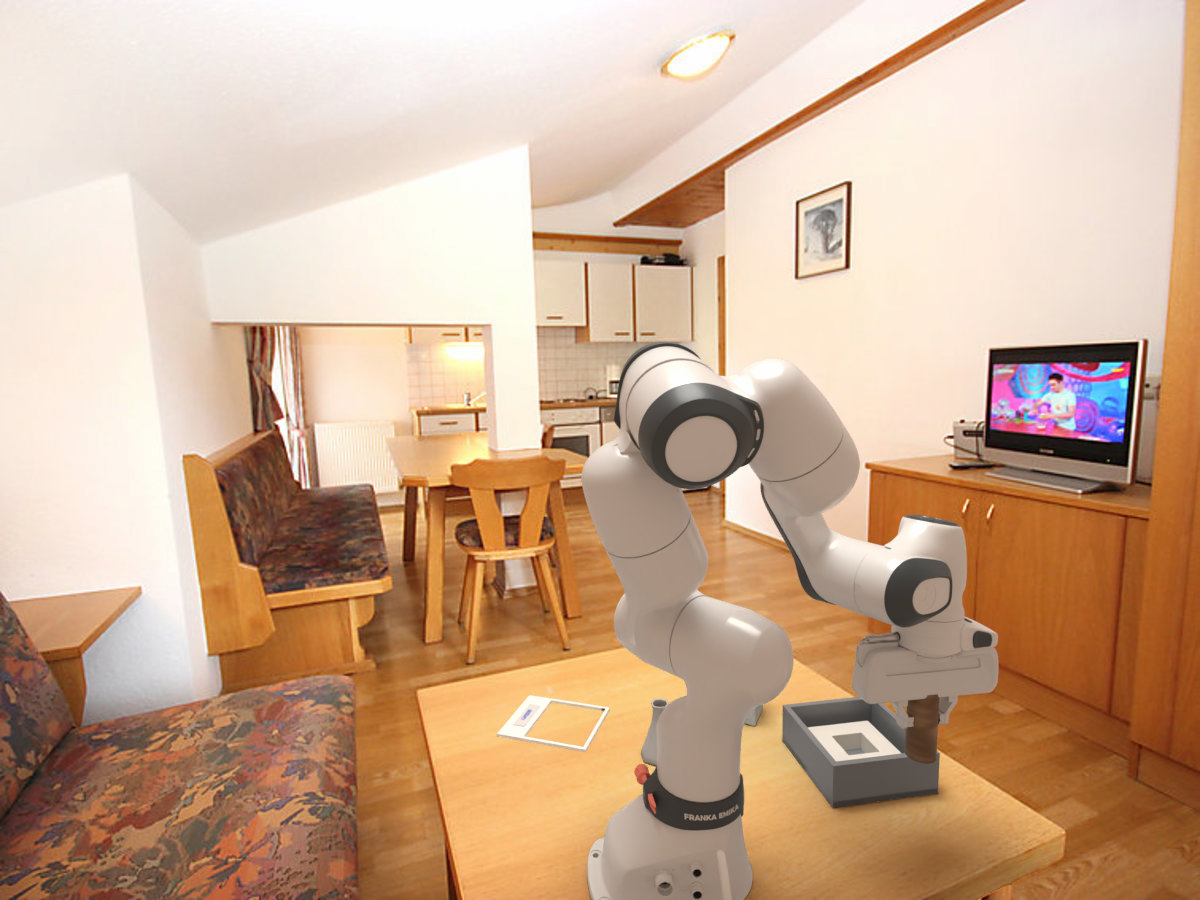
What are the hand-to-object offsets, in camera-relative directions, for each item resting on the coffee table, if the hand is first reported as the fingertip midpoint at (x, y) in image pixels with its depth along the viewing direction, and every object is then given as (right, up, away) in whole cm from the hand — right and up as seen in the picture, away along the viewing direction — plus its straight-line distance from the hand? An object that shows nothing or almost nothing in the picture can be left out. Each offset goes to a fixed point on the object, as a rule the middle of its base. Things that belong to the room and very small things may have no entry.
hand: (922, 724), depth 87 cm
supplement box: (-17, -14, +36) cm, 42 cm away
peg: (0, -5, +1) cm, 5 cm away
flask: (-35, -16, +23) cm, 45 cm away
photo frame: (-54, -16, +35) cm, 66 cm away
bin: (-2, -16, +19) cm, 25 cm away
